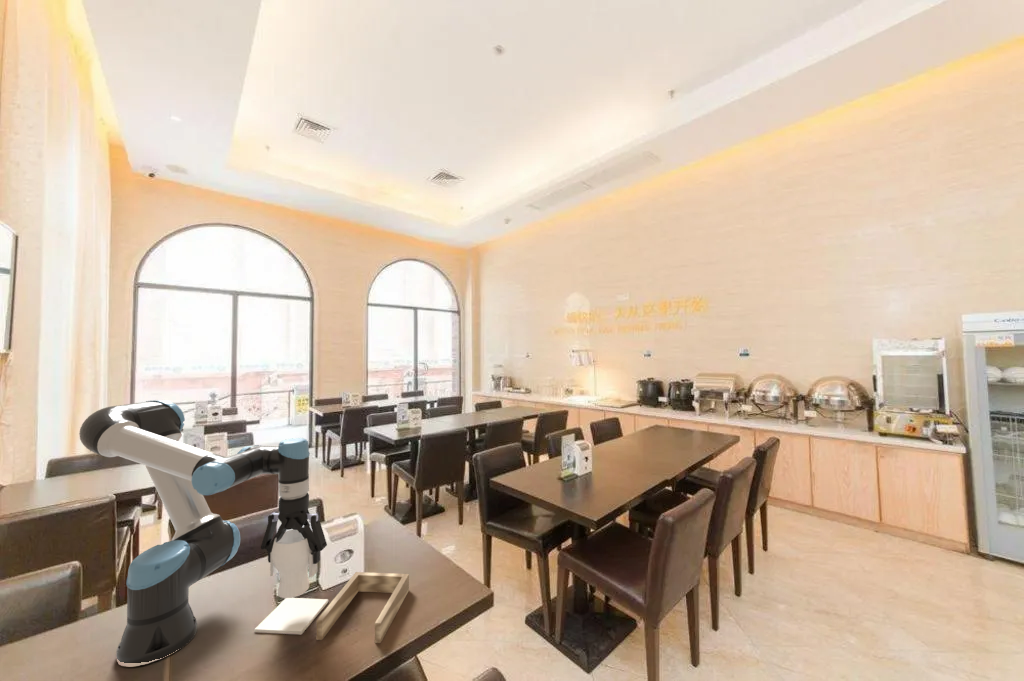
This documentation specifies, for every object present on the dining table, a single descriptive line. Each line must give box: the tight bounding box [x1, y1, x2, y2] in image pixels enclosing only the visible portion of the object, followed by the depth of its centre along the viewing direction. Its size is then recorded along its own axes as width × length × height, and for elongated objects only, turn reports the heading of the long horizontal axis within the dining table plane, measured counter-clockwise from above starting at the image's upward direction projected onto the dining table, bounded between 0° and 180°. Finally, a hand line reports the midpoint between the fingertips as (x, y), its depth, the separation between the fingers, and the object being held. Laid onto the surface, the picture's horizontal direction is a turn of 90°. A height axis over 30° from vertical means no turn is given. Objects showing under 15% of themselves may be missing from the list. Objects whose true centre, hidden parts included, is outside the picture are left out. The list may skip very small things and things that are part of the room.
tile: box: [254, 597, 329, 635], centre depth 109 cm, size 13×13×1 cm
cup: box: [272, 529, 313, 599], centre depth 109 cm, size 11×11×15 cm
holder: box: [315, 571, 410, 644], centre depth 110 cm, size 17×22×5 cm
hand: (294, 574), depth 109 cm, fingers closed on cup, 10 cm apart
